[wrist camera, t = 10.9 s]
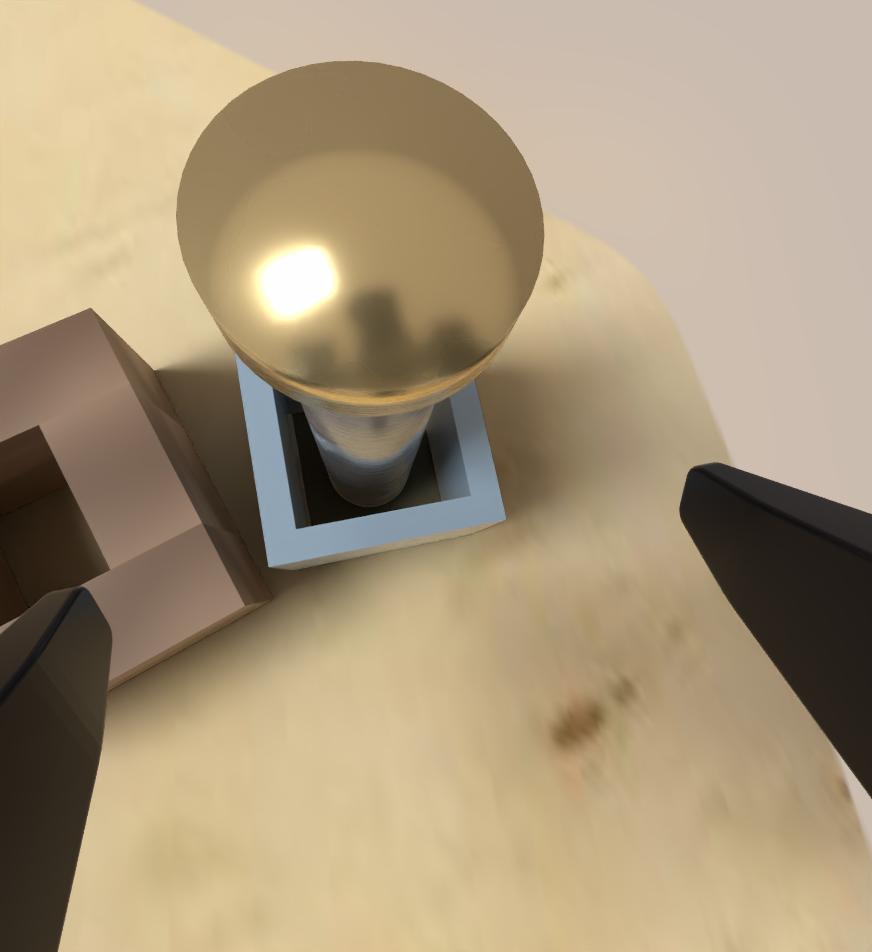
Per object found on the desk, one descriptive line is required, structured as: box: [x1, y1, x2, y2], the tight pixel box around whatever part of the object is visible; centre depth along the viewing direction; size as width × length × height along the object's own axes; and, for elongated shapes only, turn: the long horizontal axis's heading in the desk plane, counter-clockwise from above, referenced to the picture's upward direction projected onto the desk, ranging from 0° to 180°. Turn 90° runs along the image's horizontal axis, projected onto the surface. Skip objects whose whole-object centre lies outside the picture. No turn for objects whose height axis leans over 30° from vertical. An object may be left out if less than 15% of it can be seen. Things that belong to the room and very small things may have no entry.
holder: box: [235, 353, 506, 570], centre depth 17 cm, size 6×6×5 cm
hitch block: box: [0, 308, 273, 691], centre depth 16 cm, size 9×9×4 cm
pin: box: [176, 61, 544, 507], centre depth 13 cm, size 4×4×14 cm
